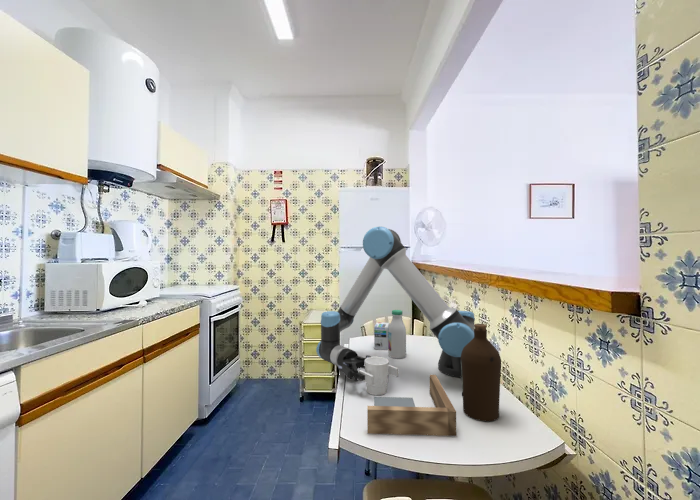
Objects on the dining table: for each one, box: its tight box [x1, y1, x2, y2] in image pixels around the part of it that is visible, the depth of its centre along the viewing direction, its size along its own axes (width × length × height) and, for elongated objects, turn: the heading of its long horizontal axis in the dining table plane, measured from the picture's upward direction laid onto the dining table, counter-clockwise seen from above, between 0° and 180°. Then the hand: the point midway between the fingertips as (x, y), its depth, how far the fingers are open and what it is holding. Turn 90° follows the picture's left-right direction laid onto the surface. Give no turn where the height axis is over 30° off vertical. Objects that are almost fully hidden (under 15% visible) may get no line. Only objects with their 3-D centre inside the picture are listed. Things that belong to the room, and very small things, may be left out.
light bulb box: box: [373, 321, 391, 351], centre depth 155 cm, size 11×7×11 cm, turn 168°
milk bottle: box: [387, 309, 407, 359], centre depth 141 cm, size 8×8×20 cm
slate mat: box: [373, 396, 416, 407], centre depth 94 cm, size 12×12×1 cm
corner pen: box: [366, 374, 457, 437], centre depth 92 cm, size 22×24×6 cm
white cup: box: [364, 356, 390, 396], centre depth 105 cm, size 8×8×10 cm
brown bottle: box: [461, 323, 502, 422], centre depth 91 cm, size 11×11×25 cm
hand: (385, 376), depth 102 cm, fingers open, 10 cm apart
